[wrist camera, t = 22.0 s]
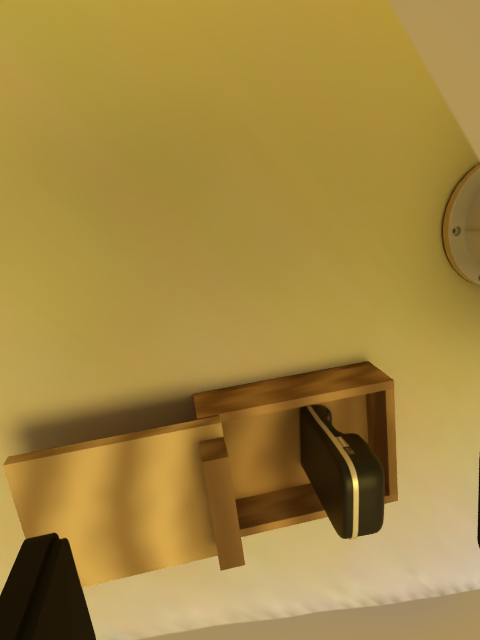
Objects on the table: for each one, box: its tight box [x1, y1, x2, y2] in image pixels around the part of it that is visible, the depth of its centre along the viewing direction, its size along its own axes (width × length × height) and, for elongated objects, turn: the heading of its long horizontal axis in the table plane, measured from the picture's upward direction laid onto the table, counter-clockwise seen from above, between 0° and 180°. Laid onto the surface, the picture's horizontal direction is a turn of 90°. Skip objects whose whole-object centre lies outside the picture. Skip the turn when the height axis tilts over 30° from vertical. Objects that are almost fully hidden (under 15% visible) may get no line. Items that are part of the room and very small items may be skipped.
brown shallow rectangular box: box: [193, 361, 398, 537], centre depth 41 cm, size 18×13×5 cm
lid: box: [3, 416, 245, 587], centre depth 35 cm, size 17×13×4 cm
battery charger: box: [300, 406, 385, 540], centre depth 38 cm, size 7×4×11 cm, turn 3°
